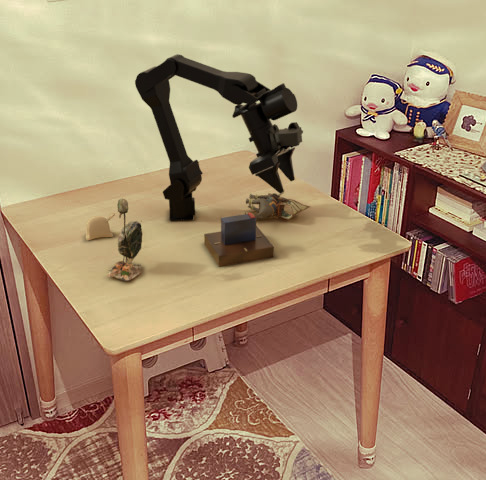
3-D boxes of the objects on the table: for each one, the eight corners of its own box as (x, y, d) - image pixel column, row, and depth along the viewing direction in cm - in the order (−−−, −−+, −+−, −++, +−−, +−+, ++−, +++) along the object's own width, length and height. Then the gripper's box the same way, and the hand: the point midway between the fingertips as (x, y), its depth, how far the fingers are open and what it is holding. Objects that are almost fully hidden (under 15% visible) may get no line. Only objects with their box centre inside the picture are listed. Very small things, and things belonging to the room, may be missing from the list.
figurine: (252, 180, 201) (313, 185, 198) (251, 201, 204) (311, 205, 201) (241, 206, 184) (307, 211, 181) (240, 228, 187) (305, 234, 184)
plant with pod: (156, 266, 173) (150, 188, 161) (124, 286, 165) (117, 206, 154) (130, 256, 177) (123, 180, 165) (98, 276, 169) (89, 198, 158)
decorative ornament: (84, 234, 187) (81, 215, 184) (116, 229, 189) (114, 211, 186) (86, 241, 184) (84, 222, 181) (118, 236, 186) (116, 217, 183)
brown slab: (219, 267, 171) (218, 255, 170) (204, 244, 181) (204, 233, 179) (273, 257, 175) (274, 246, 173) (256, 235, 184) (256, 224, 183)
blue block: (224, 245, 174) (224, 222, 171) (221, 239, 176) (220, 216, 173) (255, 240, 176) (256, 217, 172) (251, 234, 178) (251, 211, 175)
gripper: (277, 123, 158) (306, 187, 162) (300, 104, 173) (326, 163, 177) (235, 142, 164) (264, 203, 168) (261, 122, 179) (287, 179, 183)
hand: (287, 186), depth 174 cm, fingers open, 9 cm apart
